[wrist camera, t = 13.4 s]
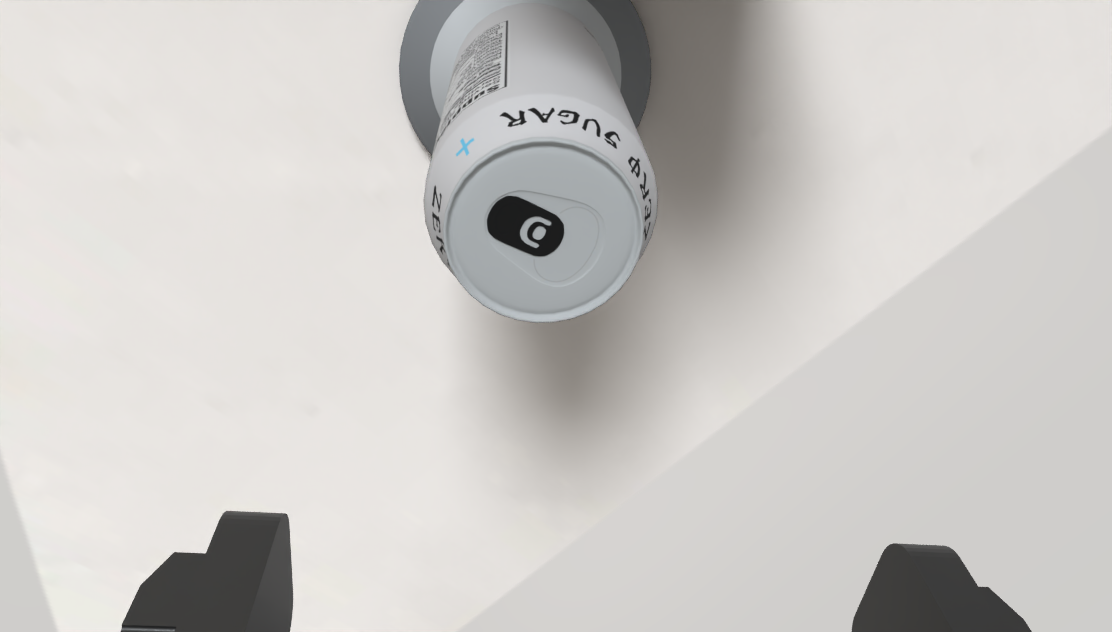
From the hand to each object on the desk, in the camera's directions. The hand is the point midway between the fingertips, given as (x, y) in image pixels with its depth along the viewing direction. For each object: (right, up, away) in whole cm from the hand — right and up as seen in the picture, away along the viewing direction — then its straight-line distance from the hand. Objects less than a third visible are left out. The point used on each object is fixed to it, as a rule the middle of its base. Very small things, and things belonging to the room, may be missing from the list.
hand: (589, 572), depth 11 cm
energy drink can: (-1, +13, +22) cm, 25 cm away
